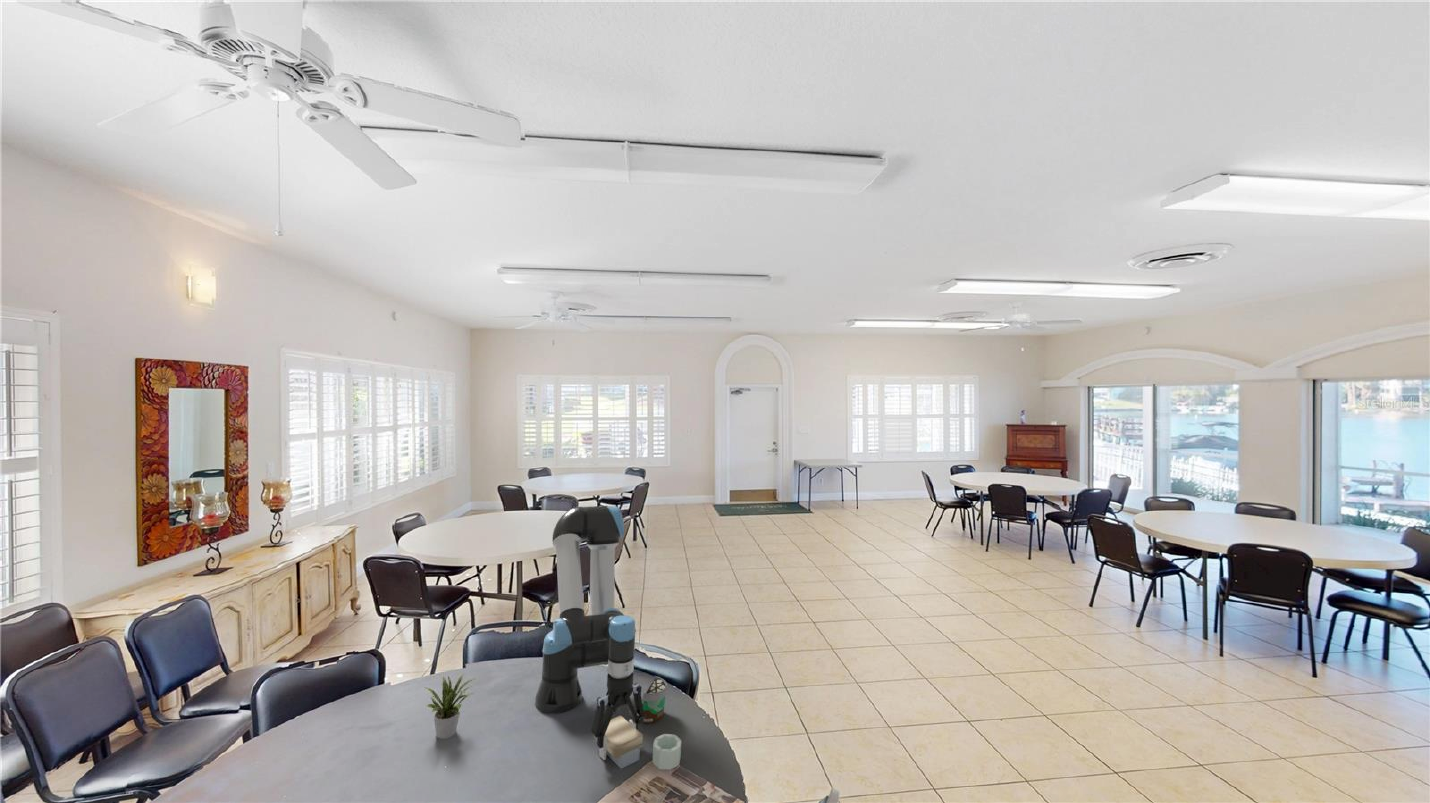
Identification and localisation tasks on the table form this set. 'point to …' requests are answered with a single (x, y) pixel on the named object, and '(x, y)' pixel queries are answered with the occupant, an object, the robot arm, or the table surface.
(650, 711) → the food container
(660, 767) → the cup
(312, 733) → the table surface
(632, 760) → the light gray rectangular block
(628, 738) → the gold metallic plate
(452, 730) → the house plant
